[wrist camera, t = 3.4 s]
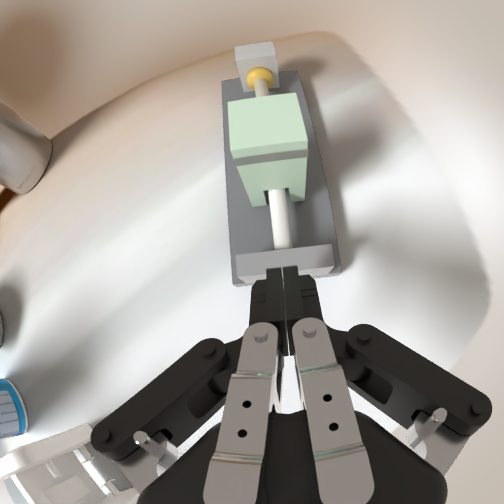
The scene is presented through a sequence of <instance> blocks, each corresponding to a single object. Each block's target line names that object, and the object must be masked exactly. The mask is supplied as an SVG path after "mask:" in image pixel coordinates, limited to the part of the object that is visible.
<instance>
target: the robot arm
mask: <svg viewBox="0 0 504 504" xmlns="http://www.w3.org/2000/svg"><path fill="white" fill-rule="evenodd" d="M51 152H52V143H51V141H50V140H49V139H48V138H47V137H46V136H44V135H43V134H42V133H41V132H39V131H38V130H37V129H36V128H34V127H33V126H32V125H31V124H30V123H28V122H27V121H26V120H25V119H23V118H22V117H21V116H20V115H19V114H17V113H16V112H15V111H14V110H13V109H11V108H10V107H9V106H8V105H6V104H5V103H4V102H3V101H2V100H1V99H0V184H1V185H3V186H4V187H6V188H8V189H10V190H12V191H14V192H16V193H17V194H20V195H21V194H25V193H27V192H28V191H30V190H31V189H32V188H33V187H34V186H35V184H36V183H37V182H38V181H39V179H40V178H41V176H42V175H43V173H44V171H45V169H46V167H47V165H48V162H49V159H50V156H51ZM283 281H284V285H283ZM287 332H288V337H287ZM288 341H289V350H290V356H292V355H294V359H295V370H296V377H297V383H298V389H299V396H300V402H301V411H298V412H295V413H292V414H282V413H281V402H282V387H283V368H284V356H289V354H288ZM348 387H350V388H351V389H352V390H354V391H355V392H356V393H358V394H359V395H360V396H362V397H363V398H364V399H366V400H367V401H368V402H370V403H371V404H372V405H374V406H375V407H376V408H378V409H379V410H381V411H382V412H383V413H385V414H386V415H388V416H389V417H390V418H392V419H393V420H395V421H396V422H397V423H399V424H400V425H402V426H403V427H404V428H406V429H407V435H406V437H407V442H408V444H409V445H410V446H411V447H412V448H413V449H414V451H415V452H414V451H412V450H411V449H409V448H408V447H407V446H406V445H404V444H403V443H402V442H401V441H399V440H398V439H397V438H395V437H394V436H393V435H392V434H390V433H389V432H388V431H387V430H385V429H384V428H383V427H382V426H380V425H379V424H378V423H377V422H375V421H374V420H373V419H372V418H370V417H369V416H367V415H365V414H363V413H361V412H358V411H355V410H354V408H353V405H352V401H351V397H350V393H349V390H348ZM224 405H225V407H224V412H223V417H222V422H220V423H218V424H217V425H215V426H213V427H212V428H211V429H210V430H208V431H207V432H206V433H205V434H204V435H203V436H202V437H201V438H200V439H199V440H198V441H197V442H196V443H195V444H194V445H193V446H192V447H191V448H190V449H189V450H188V451H187V452H186V453H185V454H183V455H182V456H181V457H180V458H179V459H178V460H177V461H176V459H177V456H178V451H177V447H178V446H180V445H181V444H182V443H183V442H184V441H185V440H187V439H188V438H189V437H190V436H191V435H192V434H193V433H194V432H196V431H197V430H198V429H199V428H200V427H201V426H202V425H203V424H204V423H205V422H207V421H208V420H209V419H210V418H211V417H212V416H213V415H214V414H215V413H216V412H217V411H218V410H219V409H220V408H221V407H222V406H224ZM491 413H492V404H491V401H490V399H489V398H488V397H487V396H486V395H485V394H483V393H482V392H480V391H478V390H477V389H475V388H474V387H472V386H470V385H469V384H467V383H465V382H464V381H462V380H461V379H459V378H457V377H455V376H454V375H452V374H451V373H449V372H447V371H446V370H444V369H442V368H441V367H439V366H438V365H436V364H434V363H433V362H431V361H429V360H428V359H426V358H424V357H423V356H421V355H420V354H418V353H416V352H415V351H413V350H411V349H410V348H408V347H406V346H405V345H403V344H402V343H400V342H398V341H397V340H395V339H393V338H392V337H390V336H388V335H387V334H385V333H384V332H382V331H380V330H379V329H377V328H375V327H374V326H371V325H368V324H359V325H356V326H354V327H352V328H351V329H350V330H349V331H348V332H347V331H339V330H335V329H332V328H330V327H329V326H328V325H326V323H325V322H324V320H323V317H322V312H321V307H320V302H319V297H318V292H317V287H316V283H315V280H314V279H313V278H312V277H311V276H310V275H309V274H308V275H299V273H298V266H297V265H294V266H285V267H283V277H282V269H281V267H277V268H267V269H266V279H262V280H256V282H255V283H254V285H253V286H252V290H251V304H250V318H249V327H248V328H247V329H246V331H245V332H244V335H243V336H242V337H241V338H239V339H237V340H235V341H232V342H229V343H226V344H224V343H223V342H222V341H221V340H219V339H215V338H208V339H204V340H202V341H200V342H199V343H197V344H196V345H195V346H194V347H193V348H191V349H190V350H189V351H188V352H187V353H185V354H184V355H183V356H182V357H181V358H179V359H178V360H177V361H176V362H175V363H173V364H172V365H171V366H170V367H169V368H167V369H166V370H165V371H164V372H163V373H161V374H160V375H159V376H158V377H156V378H155V379H154V380H153V381H152V382H150V383H149V384H148V385H147V386H145V387H144V388H143V389H142V390H140V391H139V392H138V393H137V394H135V395H134V396H133V397H132V398H130V399H129V400H128V401H127V402H125V403H124V404H123V405H122V406H120V407H119V408H118V409H116V410H115V411H114V412H113V413H111V414H110V415H109V416H107V417H106V418H105V419H104V420H102V421H101V422H100V423H98V424H97V425H96V426H95V427H94V428H93V430H92V432H91V437H90V439H91V444H92V446H93V447H94V448H95V449H96V450H97V451H99V452H100V453H102V454H103V455H105V456H106V457H107V458H108V459H110V460H112V461H113V462H115V464H116V465H117V466H118V468H119V469H120V470H121V472H122V473H123V474H124V476H125V477H126V478H127V479H128V481H129V482H130V483H131V484H132V486H133V487H134V488H135V489H136V490H137V492H138V493H139V494H140V495H139V497H138V500H137V503H136V504H445V502H446V499H447V491H448V490H447V483H446V480H445V478H444V475H445V474H446V472H447V471H448V470H449V468H450V467H451V465H452V464H453V462H454V461H455V459H456V458H457V456H458V455H459V453H460V452H461V450H462V448H463V447H464V445H465V444H466V442H467V440H468V439H469V437H470V436H471V435H473V434H474V433H475V432H476V431H477V430H478V429H479V428H481V427H482V426H483V425H484V424H485V423H486V422H487V421H488V420H489V418H490V416H491ZM175 461H176V462H175Z"/></svg>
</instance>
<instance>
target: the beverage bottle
mask: <svg viewBox="0 0 504 504" xmlns="http://www.w3.org/2000/svg"><path fill="white" fill-rule="evenodd" d="M27 427H28V417H27V412H26V408H25V405H24V403H23V400H22V398H21V396H20V394H19V392H18V390H17V389H16V387H15V386H14V385H13V384H12V383H11V382H10V381H9V380H7V379H0V440H1V439H5V438H9V437H13V436H18V435H22V434H24V433H25V432H26V430H27Z"/></svg>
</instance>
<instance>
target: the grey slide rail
mask: <svg viewBox="0 0 504 504" xmlns="http://www.w3.org/2000/svg"><path fill="white" fill-rule="evenodd" d="M234 49H235V60H236V64H237V68H238V72H239V76H240V78H235V79H230V80H224V81H222V105H223V130H224V151H225V171H226V190H227V207H228V223H229V239H230V253H231V268H232V281H233V285H235V286H237V287H238V286H248V285H254V283H255V282H256V280H262V279H266V269H267V268H277V267H281V269H282V277H283V267H285V266H294V265H297V266H298V273H299V275H308V274H309V275H310V276H311V277H312V278H320V277H328V276H336V275H339V274H340V273H341V265H340V258H339V251H338V245H337V238H336V232H335V226H334V221H333V215H332V210H331V204H330V199H329V194H328V189H327V184H326V179H325V175H324V170H323V166H322V161H321V157H320V152H319V148H318V144H317V140H316V136H315V132H314V128H313V124H312V120H311V116H310V113H309V109H308V105H307V102H306V98H305V95H304V91H303V88H302V85H301V81H300V78H299V75H298V72H297V71H286V72H278V66H277V58H276V53H275V49H274V45H273V42H272V41H270V42H262V43H254V44H248V45H242V46H236V47H234ZM287 93H296V95H297V98H298V102H299V106H300V110H301V114H302V118H303V122H304V126H305V131H306V135H307V139H308V149H309V150H308V157H307V168H306V185H305V200H304V201H297V202H290V198H289V191H288V188H282V189H274V190H266V191H265V194H266V203H267V205H264V206H256V207H252V205H251V202H250V199H249V197H248V194H247V192H246V189H245V187H244V184H243V182H242V179H241V177H240V174H239V171H238V169H237V166H236V167H235V164H234V162H233V159H232V154H231V151H230V139H229V121H228V103H227V102H231V101H237V100H243V99H249V98H255V97H262V96H270V95H278V94H287ZM283 282H284V281H283Z"/></svg>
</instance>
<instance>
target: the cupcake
mask: <svg viewBox="0 0 504 504" xmlns="http://www.w3.org/2000/svg"><path fill="white" fill-rule="evenodd" d="M2 340H3V321H2V317H1V314H0V345H1V343H2Z"/></svg>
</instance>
